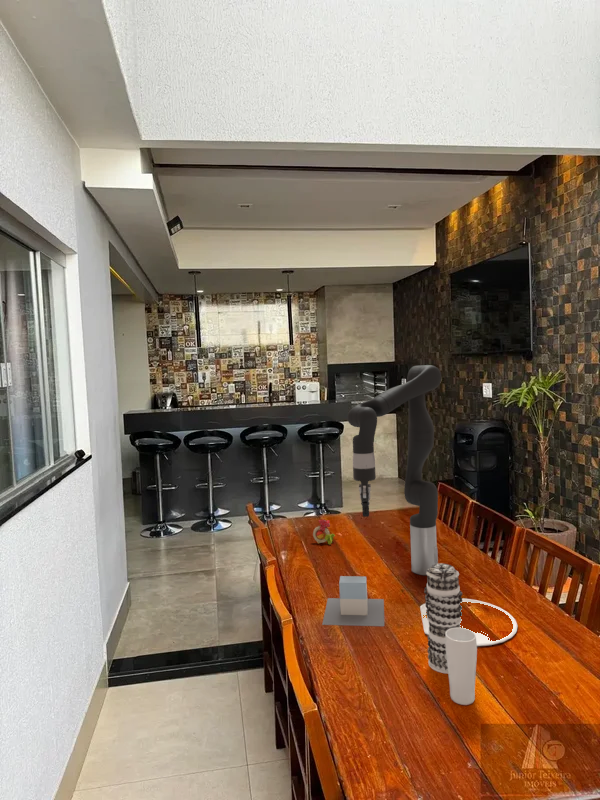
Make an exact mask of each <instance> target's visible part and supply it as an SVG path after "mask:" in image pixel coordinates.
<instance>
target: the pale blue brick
mask: <svg viewBox="0 0 600 800" xmlns="http://www.w3.org/2000/svg"><path fill="white" fill-rule="evenodd" d="M338 585H339V590H338V591H339V598H340V599H368V588H367V576H364V575H363V576H355V575H353V576H352V575H349V576H348V575H344V576H343V575H340V576H339V582H338Z"/></svg>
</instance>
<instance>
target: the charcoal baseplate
mask: <svg viewBox="0 0 600 800" xmlns="http://www.w3.org/2000/svg"><path fill="white" fill-rule="evenodd" d="M367 603H368V613H367V615H341V607H340V597H338V598H336V597H331V598H330V597H327V601H326V604H325V605H326V606H325V610H324V614H323V620H322V626H350V627H351V626H358V627H360V626H361V627H385V599H384V598H367Z"/></svg>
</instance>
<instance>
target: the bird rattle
mask: <svg viewBox="0 0 600 800" xmlns="http://www.w3.org/2000/svg"><path fill="white" fill-rule="evenodd" d="M318 523H319V525H317V526H316V527H315V528H314V529H313V533H312V536H313V539H314V541H316V542H317V544H318V545H319V544H321V543H326V542H327V544H328V545H331V544H332V543H333V540H334V537H335V536H336V535H335V534H334V533H330V531H329V529H328V528H330V527H331V524H330V519H329V520H328V519H327V520H326V519H318Z"/></svg>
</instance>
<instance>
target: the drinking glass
mask: <svg viewBox="0 0 600 800" xmlns="http://www.w3.org/2000/svg"><path fill="white" fill-rule="evenodd" d="M445 650H446V659H447V668H448V675H447V676H448V683H449V697H450V699H451V701H453V703H456V704H458V705H461V706H469V705H472V704H473V703H474V701H475V699H476V696H475V695H476V693H475V692H476V691H475V690H476V675H477V674H476V673H477V671H476V670H477V660H478V659H477V658H478V646H477V642H476V635H475V633H474V632H473V631H471V630H469V629H466V628H460V627H456V628H450V629H448V630H447V631H446V633H445Z"/></svg>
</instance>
